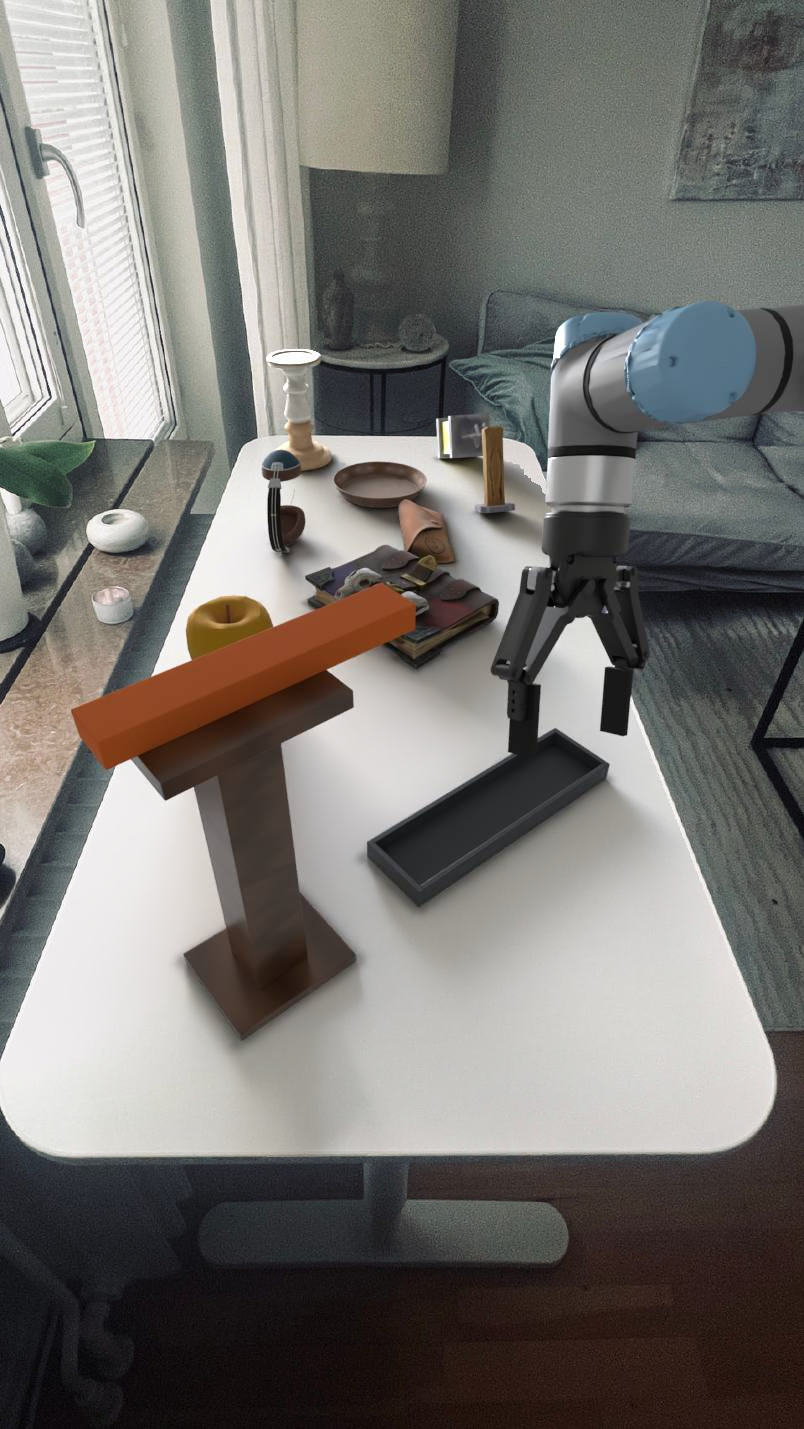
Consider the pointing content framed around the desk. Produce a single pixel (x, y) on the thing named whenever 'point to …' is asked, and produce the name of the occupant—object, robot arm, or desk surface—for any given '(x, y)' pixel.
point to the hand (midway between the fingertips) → (570, 743)
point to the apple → (224, 623)
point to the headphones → (281, 519)
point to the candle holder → (299, 407)
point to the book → (411, 598)
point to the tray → (484, 816)
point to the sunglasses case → (424, 532)
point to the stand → (255, 852)
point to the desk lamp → (477, 453)
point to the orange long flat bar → (239, 674)
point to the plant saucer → (379, 483)
